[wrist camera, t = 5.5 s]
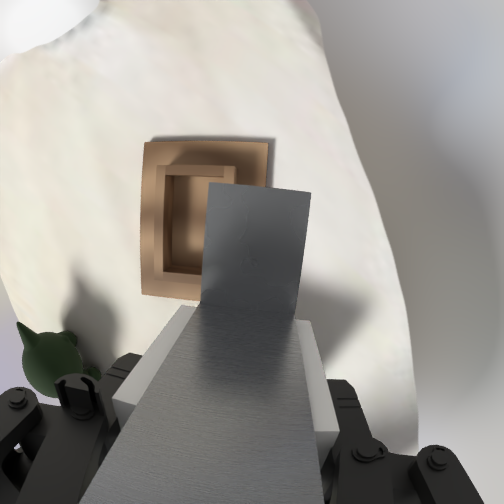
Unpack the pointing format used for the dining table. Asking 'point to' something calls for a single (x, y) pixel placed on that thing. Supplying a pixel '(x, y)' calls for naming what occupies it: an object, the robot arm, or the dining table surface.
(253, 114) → the dining table surface
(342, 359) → the dining table surface
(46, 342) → the toy figurine
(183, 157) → the brown wooden flat frame
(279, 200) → the bracket
